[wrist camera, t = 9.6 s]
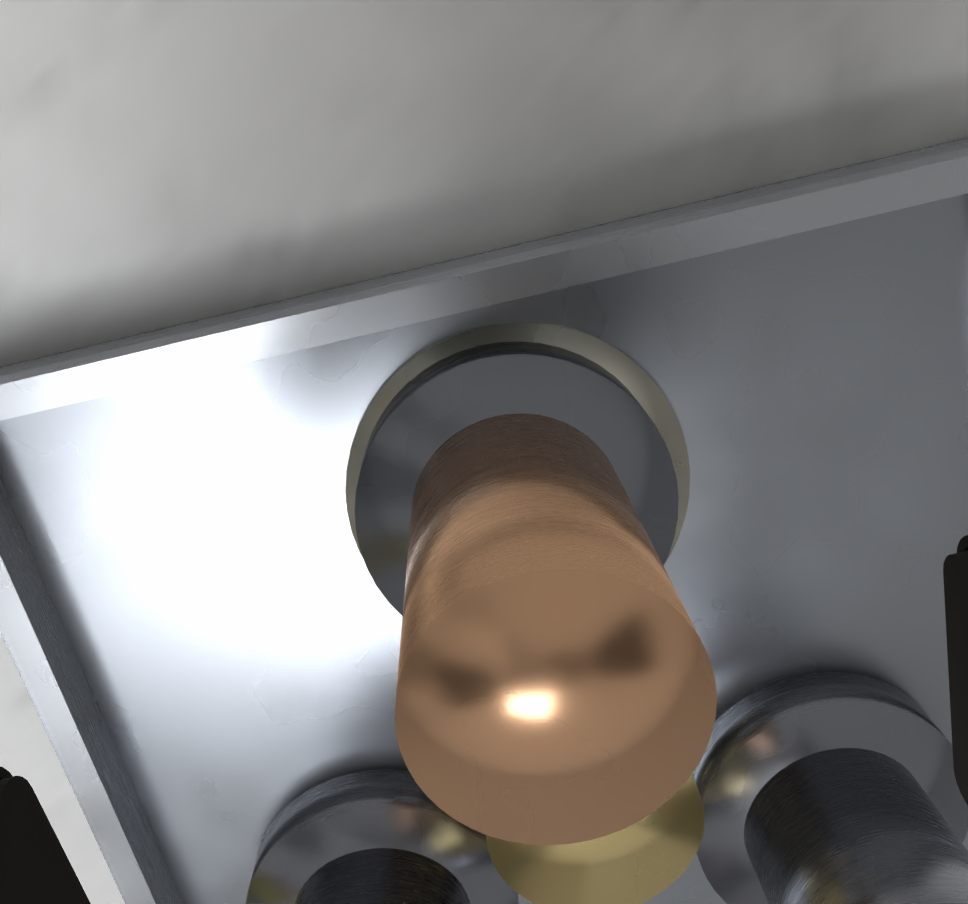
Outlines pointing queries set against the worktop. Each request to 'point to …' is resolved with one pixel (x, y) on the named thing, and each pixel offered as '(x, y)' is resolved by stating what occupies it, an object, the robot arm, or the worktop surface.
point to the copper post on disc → (534, 595)
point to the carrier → (377, 624)
